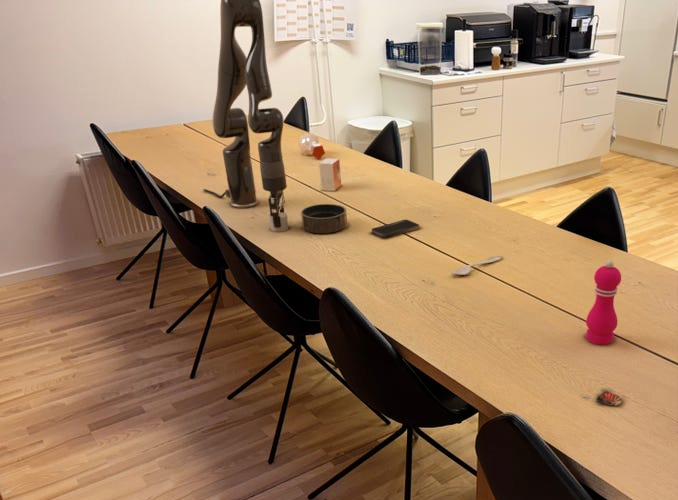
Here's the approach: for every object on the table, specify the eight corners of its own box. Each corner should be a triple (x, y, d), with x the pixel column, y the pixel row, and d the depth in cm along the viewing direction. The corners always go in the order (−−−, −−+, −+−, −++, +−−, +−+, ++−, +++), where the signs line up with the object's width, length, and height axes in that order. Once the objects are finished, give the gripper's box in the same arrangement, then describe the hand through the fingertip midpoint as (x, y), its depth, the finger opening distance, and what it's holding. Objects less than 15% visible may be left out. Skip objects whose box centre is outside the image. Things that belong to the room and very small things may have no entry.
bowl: (294, 226, 229) (292, 210, 226) (330, 216, 237) (329, 201, 234) (319, 238, 219) (317, 221, 217) (356, 227, 228) (355, 211, 225)
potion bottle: (308, 154, 315) (321, 165, 305) (291, 144, 308) (304, 155, 298) (318, 137, 313) (332, 147, 303) (301, 126, 306) (315, 137, 296)
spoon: (447, 275, 194) (447, 270, 193) (494, 256, 207) (495, 250, 206) (458, 280, 192) (458, 274, 191) (505, 259, 204) (505, 254, 203)
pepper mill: (580, 331, 165) (589, 254, 155) (609, 330, 166) (620, 254, 156) (588, 346, 159) (598, 267, 149) (618, 345, 160) (630, 266, 150)
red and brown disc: (595, 402, 139) (595, 400, 139) (602, 389, 143) (602, 387, 143) (617, 408, 138) (618, 406, 137) (624, 395, 141) (624, 393, 141)
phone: (370, 229, 223) (405, 219, 231) (370, 232, 223) (406, 222, 232) (384, 235, 218) (420, 225, 226) (384, 239, 218) (420, 228, 227)
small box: (334, 191, 262) (332, 164, 257) (321, 190, 263) (318, 163, 258) (341, 185, 269) (339, 158, 264) (328, 184, 270) (326, 157, 264)
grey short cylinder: (267, 228, 227) (265, 214, 225) (282, 224, 230) (281, 210, 228) (276, 232, 223) (274, 219, 221) (292, 228, 227) (290, 215, 224)
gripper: (265, 168, 223) (271, 216, 232) (257, 180, 211) (264, 230, 219) (288, 168, 224) (294, 215, 232) (281, 180, 212) (288, 230, 220)
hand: (279, 222), depth 226 cm, fingers open, 8 cm apart
